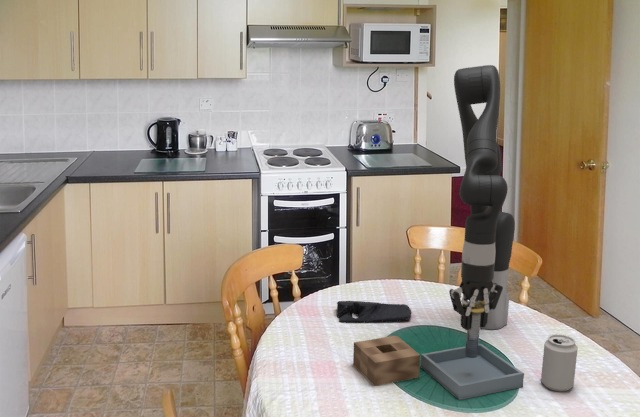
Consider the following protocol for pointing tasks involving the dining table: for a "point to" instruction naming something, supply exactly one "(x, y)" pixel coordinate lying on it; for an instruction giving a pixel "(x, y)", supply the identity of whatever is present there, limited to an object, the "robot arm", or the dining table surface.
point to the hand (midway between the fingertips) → (473, 327)
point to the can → (559, 362)
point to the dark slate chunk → (372, 312)
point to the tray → (471, 372)
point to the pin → (474, 331)
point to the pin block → (386, 360)
